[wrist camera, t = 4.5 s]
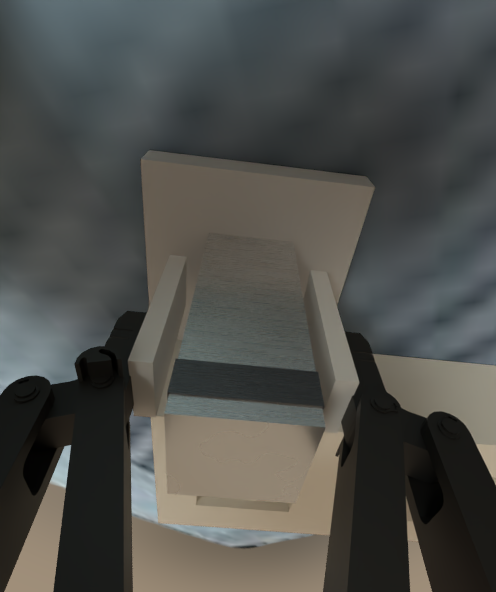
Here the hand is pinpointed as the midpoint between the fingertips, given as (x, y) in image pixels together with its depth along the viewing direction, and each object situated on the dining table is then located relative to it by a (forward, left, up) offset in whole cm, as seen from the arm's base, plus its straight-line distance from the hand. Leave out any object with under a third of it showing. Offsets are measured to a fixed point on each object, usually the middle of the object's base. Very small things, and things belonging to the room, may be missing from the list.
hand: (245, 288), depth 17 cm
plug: (0, 0, -1) cm, 1 cm away
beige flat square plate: (0, 0, -3) cm, 3 cm away
